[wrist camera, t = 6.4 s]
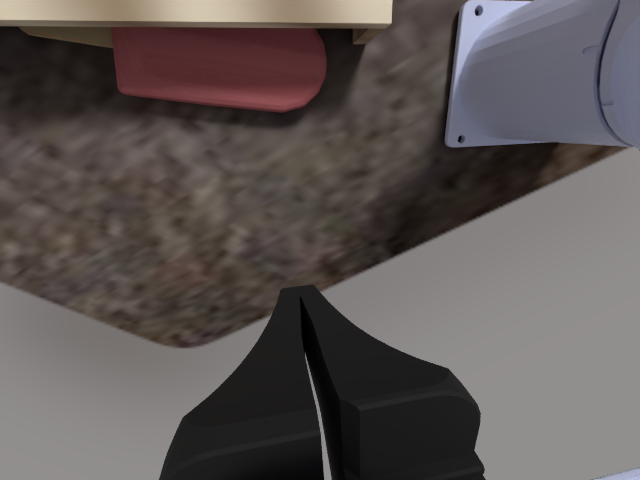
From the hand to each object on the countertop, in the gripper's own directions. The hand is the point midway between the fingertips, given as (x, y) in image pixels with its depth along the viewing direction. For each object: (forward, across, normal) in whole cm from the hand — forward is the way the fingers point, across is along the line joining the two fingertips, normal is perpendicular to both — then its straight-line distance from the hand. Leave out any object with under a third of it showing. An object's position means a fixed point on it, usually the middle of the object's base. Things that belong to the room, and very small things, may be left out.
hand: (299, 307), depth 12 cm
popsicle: (+10, +4, -11) cm, 15 cm away
